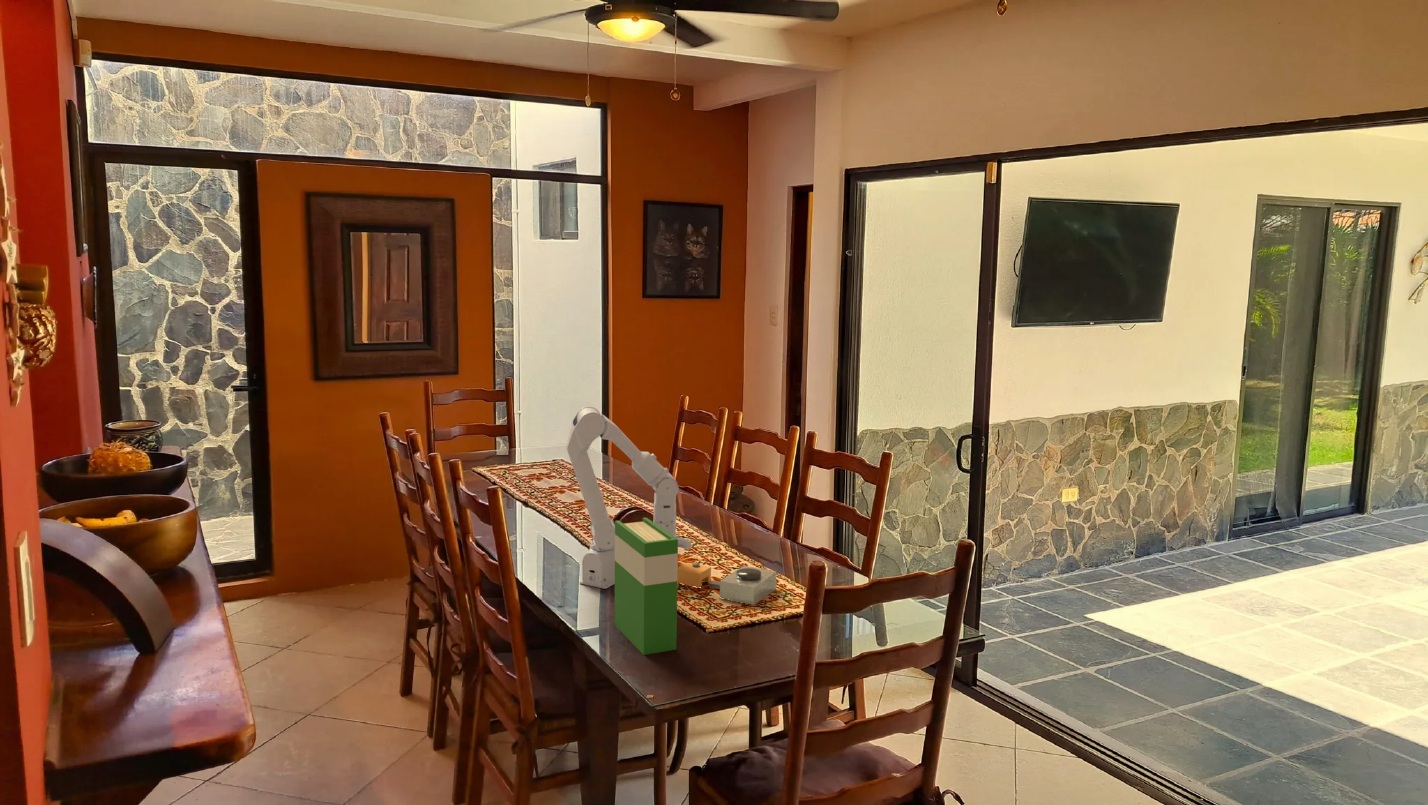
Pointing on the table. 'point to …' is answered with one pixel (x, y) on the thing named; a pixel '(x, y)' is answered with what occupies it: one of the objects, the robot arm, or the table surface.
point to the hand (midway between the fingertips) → (664, 571)
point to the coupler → (746, 585)
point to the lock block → (693, 574)
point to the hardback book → (646, 585)
